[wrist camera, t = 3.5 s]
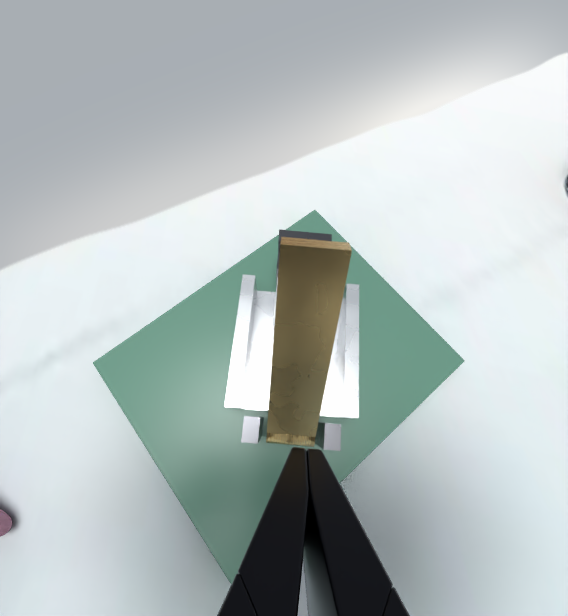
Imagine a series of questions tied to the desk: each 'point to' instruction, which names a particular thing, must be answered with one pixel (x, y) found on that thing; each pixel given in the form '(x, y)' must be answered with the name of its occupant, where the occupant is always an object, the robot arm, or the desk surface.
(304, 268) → the bar
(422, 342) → the motherboard
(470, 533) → the desk surface
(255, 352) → the heatsink mount
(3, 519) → the pink curved lobed piece
